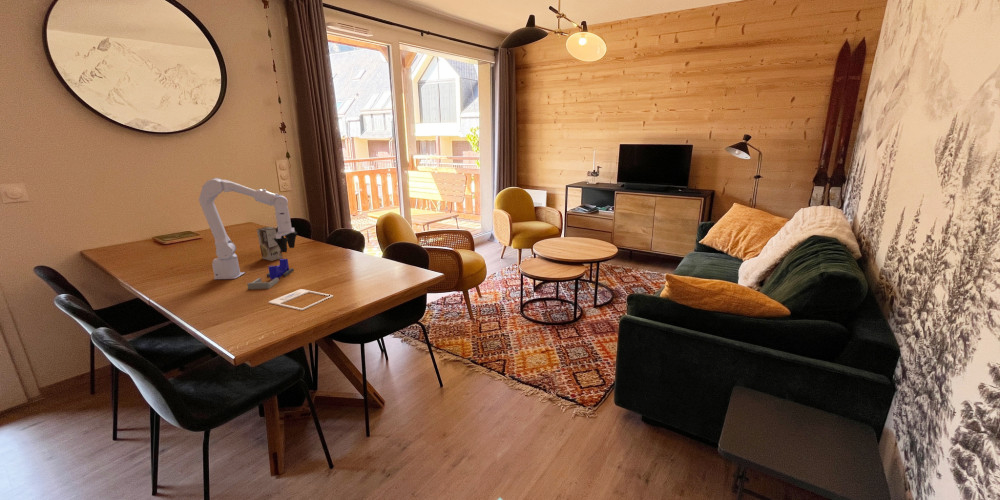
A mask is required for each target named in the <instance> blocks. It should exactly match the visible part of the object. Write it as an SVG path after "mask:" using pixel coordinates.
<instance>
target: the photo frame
mask: <svg viewBox="0 0 1000 500" xmlns="http://www.w3.org/2000/svg"><path fill="white" fill-rule="evenodd" d="M308 293H309V294H315V295H318V296H319V295H320V296H324V295H325V298H322V299H320V300H318V301H316V302H313V303H311V304H309V305H306V306H305V307H303V308H301V307H297V306H293V305H287V304H284V303H287V302H289V301H292V300H294V299H296V298H299V297H302V296H304V295H306V294H308ZM329 295H330V296H329ZM333 297H334V294H333V295H332V294H328V293H325V292H324V293H322V292H318V291H314V290H313V291H312V290H308V289H304V288H303V289H302V288H299V289H297V290H295V291H293V292H290V293H287V294H284V295H282V296H278V297H276V298H274V299H272V300H269V301H267V302H268V304H272V305H275V306H280V307H283V308H289V309H294V310H298V311H301V312H302V311H304V310H308V309H309V308H311V307H313V306H315V305H318V304H320V303H322V301H323V302H325V301H326V299H327V300H329V299H331V298H333ZM328 298H329V299H328ZM324 300H325V301H324Z"/></svg>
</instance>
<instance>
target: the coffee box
mask: <svg viewBox="0 0 1000 500" xmlns="http://www.w3.org/2000/svg"><path fill="white" fill-rule="evenodd" d="M256 232H257V238H258V244H259V249H260V253H261V258H262V259H263V260H267V261H271V262H272V261H273V262H274V261H276V260H280V259H284V258H283V252H281V250H280V247H279V245H278V244H277V243H276V241H275V240H274V238H275V237H276V236H275V235H276V234H277V232H278V227H272V226H266V227H261V228H260V227H259V228H257V229H256Z"/></svg>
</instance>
